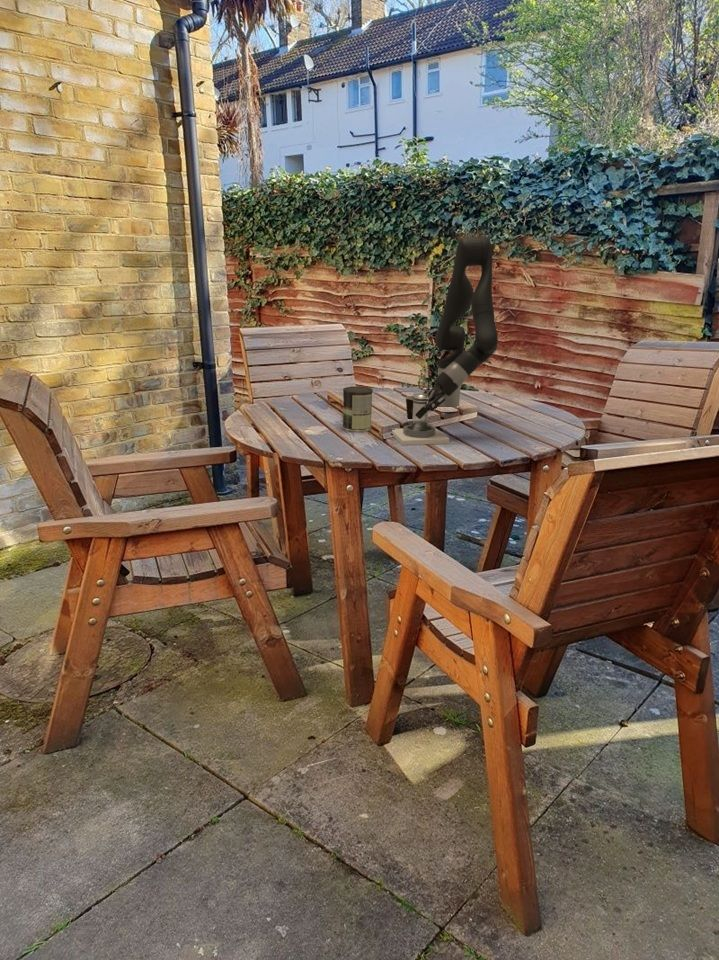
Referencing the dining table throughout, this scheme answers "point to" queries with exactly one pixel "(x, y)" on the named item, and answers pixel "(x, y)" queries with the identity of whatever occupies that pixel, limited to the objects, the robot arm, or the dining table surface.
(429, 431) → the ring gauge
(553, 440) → the dining table surface
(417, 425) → the cylinder
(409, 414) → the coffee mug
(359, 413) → the coffee can
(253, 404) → the dining table surface
